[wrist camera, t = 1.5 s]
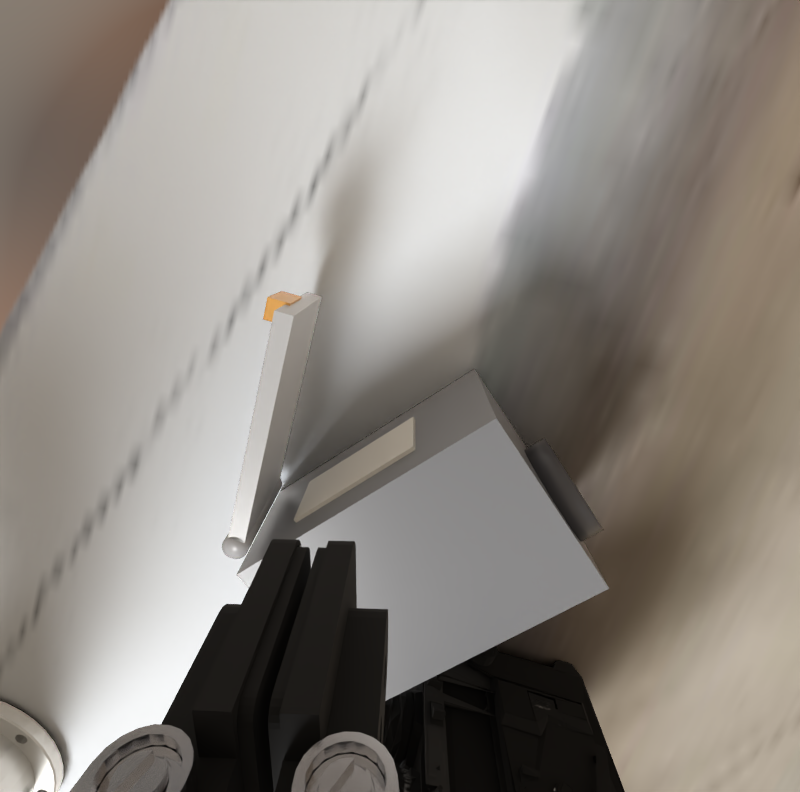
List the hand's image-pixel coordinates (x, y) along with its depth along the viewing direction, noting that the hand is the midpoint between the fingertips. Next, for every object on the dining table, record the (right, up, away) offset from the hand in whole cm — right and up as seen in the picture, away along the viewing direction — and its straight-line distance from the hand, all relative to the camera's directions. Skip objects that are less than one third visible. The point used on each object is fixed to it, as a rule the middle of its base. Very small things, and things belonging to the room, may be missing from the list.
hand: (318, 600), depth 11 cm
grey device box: (+3, -2, +21) cm, 21 cm away
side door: (-5, +4, +18) cm, 19 cm away
